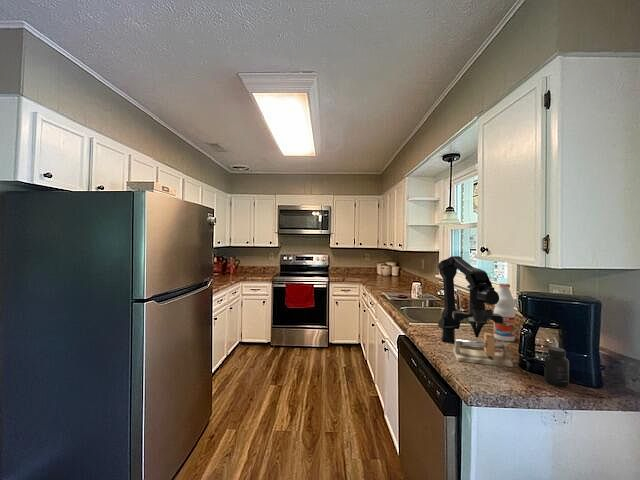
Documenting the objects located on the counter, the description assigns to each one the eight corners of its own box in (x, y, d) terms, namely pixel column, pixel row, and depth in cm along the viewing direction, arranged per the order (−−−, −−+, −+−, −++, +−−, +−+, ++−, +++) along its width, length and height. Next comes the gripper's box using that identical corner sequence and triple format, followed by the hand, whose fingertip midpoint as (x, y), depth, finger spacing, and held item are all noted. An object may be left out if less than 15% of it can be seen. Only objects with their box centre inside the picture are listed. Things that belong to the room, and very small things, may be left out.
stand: (457, 361, 127) (457, 344, 127) (453, 351, 139) (453, 335, 139) (512, 366, 122) (512, 349, 122) (503, 356, 134) (503, 339, 134)
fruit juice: (513, 337, 161) (514, 283, 161) (516, 342, 152) (516, 285, 152) (493, 335, 165) (493, 282, 165) (494, 339, 156) (494, 284, 157)
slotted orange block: (488, 356, 127) (488, 337, 127) (484, 350, 133) (484, 332, 134) (494, 356, 126) (494, 337, 126) (490, 350, 133) (490, 333, 133)
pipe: (455, 346, 132) (456, 339, 132) (454, 344, 135) (455, 337, 135) (508, 351, 127) (508, 344, 127) (506, 348, 129) (506, 342, 129)
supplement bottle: (539, 379, 111) (539, 345, 111) (557, 378, 112) (557, 345, 112) (555, 388, 104) (555, 352, 104) (574, 387, 105) (574, 352, 105)
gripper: (456, 302, 126) (455, 340, 126) (507, 305, 121) (507, 345, 121) (452, 297, 137) (451, 333, 137) (499, 300, 132) (499, 337, 132)
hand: (476, 337), depth 131 cm, fingers closed
